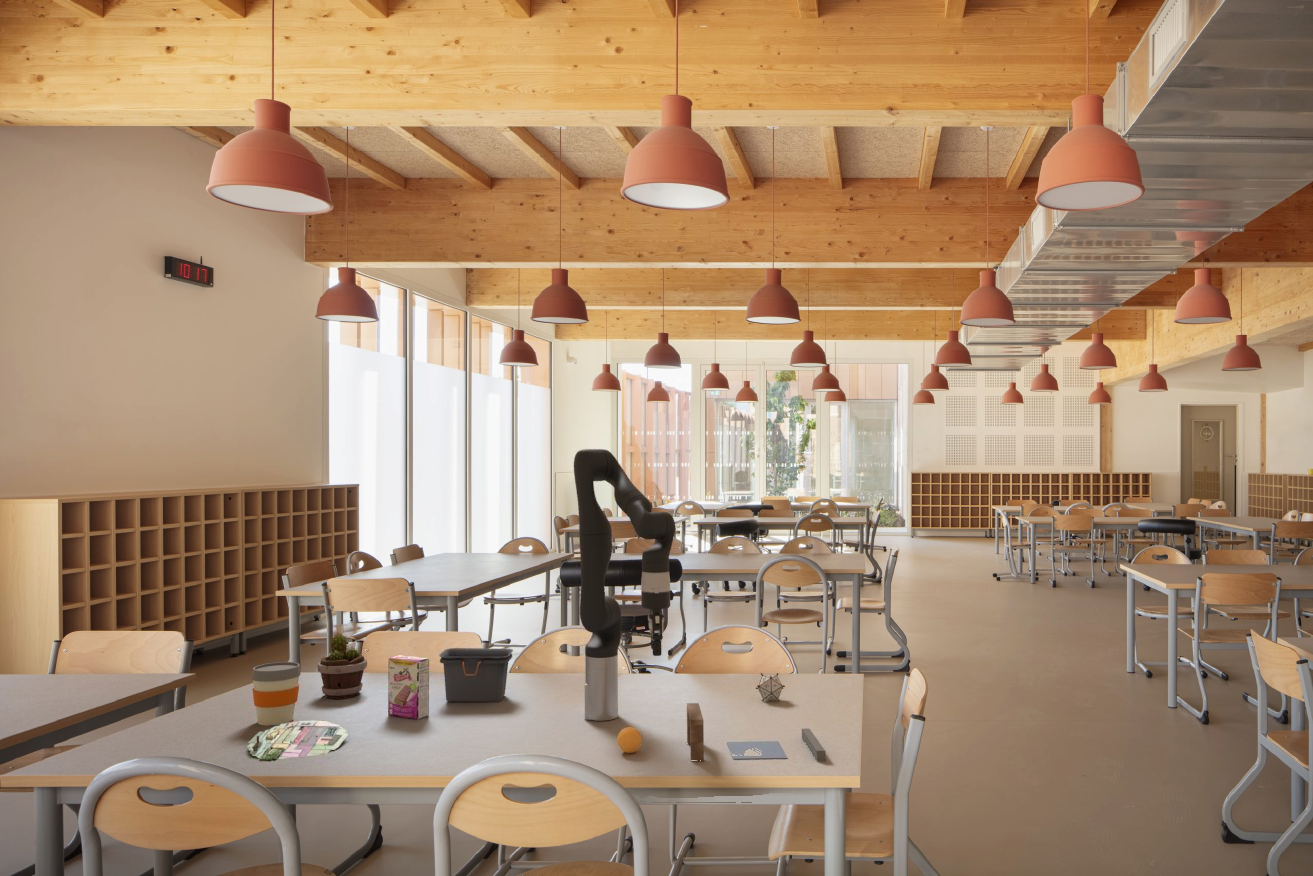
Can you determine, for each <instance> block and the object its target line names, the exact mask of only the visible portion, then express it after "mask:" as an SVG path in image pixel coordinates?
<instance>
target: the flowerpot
mask: <svg viewBox="0 0 1313 876" xmlns="http://www.w3.org/2000/svg"><path fill="white" fill-rule="evenodd" d="M331 636H332V637H331V638H330V644H329V649H330V653H329V654H330V655H328V656H324V657H321V659H320V661H319V662H318V663H317V667H316V668H317V672H318V673H320V677H321V680H322V684H323V685H321V691H322V693H323V695H324V696H325V698H326V699H334V700H341V699H343V700H344V699H347V698H352V697H354V696H358V695H359V694H360V692H361V691H362V688H363V682H362V679H363V676H364V670H365V669H366V668H368V667H367V666H368V660H367V659H366V658H365V656H363V655H362V654H361V653H360V651H358V649H357V648H355V647H354V646H352V645H350V646H349V640H348V636H345V635H343V632H341V631H336V633H335V632H333V635H331Z"/></svg>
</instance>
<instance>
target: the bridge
mask: <svg viewBox="0 0 1313 876" xmlns="http://www.w3.org/2000/svg"><path fill="white" fill-rule="evenodd" d="M701 710H702V709H701V707H700V703H699V702H694V703H693V702H691V703H690V702H687V703H686V743H688V744H690V746H689V747H690V761H691V760H698V761H697V762H705V760H704V759H705V754H704V753H705V752H704V751H705V750H704V748H705V743H704V738H705V737H704V716H703V714H702V713H703V712H702V711H701ZM688 744H687V745H688ZM700 760H701V761H700Z"/></svg>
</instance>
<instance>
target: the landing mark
mask: <svg viewBox="0 0 1313 876" xmlns="http://www.w3.org/2000/svg"><path fill="white" fill-rule="evenodd" d="M726 744H727V747H728V750H729V749H730V750H729V752H731V753H732V754H735V755H738V756H731V758H732V760H733V759H735V760H783V758H785V759H784V760H786V758H787V759H788V756H787V755H786V753H785V750H784V749H783V747H782V745H781V743H780V742H779V740H777V741H776V740H770V741H768V740H765V741H763V740H762V741H758V740H757V741H726ZM752 748H753V749H754V750H753V751H755V750H757V749H759V750H761V751H762V752H761V751H759V750H757V751H759V752H761V753H762V755H761V756H744V753H745V751H746V750H748V749H751V750H752ZM755 748H757V749H755ZM755 752H756V751H755ZM731 753H730V755H732V754H731ZM757 753H758V752H757ZM739 754H740V755H742V756H740V755H739ZM759 754H760V753H759ZM781 758H782V759H781Z"/></svg>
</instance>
